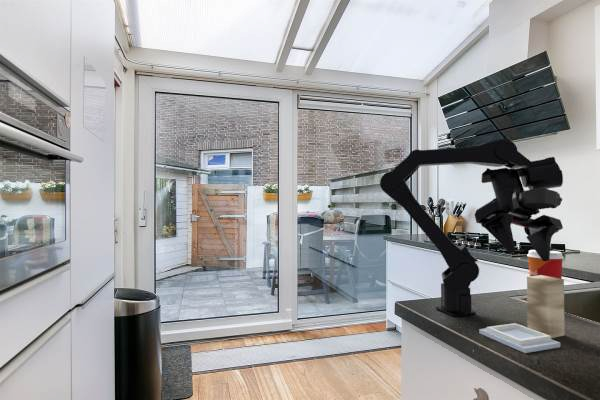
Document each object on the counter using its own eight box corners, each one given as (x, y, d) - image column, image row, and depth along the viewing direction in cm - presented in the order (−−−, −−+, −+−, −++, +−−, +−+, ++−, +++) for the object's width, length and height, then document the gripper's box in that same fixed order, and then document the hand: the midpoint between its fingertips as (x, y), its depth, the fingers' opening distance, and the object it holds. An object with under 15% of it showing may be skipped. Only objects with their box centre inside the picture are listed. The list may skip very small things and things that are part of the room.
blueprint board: (479, 333, 70) (479, 325, 70) (511, 328, 73) (511, 320, 73) (525, 353, 61) (524, 343, 61) (560, 347, 63) (560, 338, 63)
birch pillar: (527, 331, 72) (526, 276, 72) (541, 328, 73) (541, 275, 73) (549, 338, 68) (549, 281, 68) (564, 335, 69) (563, 279, 69)
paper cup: (529, 301, 93) (528, 248, 94) (565, 306, 89) (564, 251, 89) (525, 308, 87) (524, 251, 88) (563, 314, 83) (563, 254, 83)
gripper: (507, 162, 71) (530, 231, 62) (573, 184, 76) (603, 251, 68) (466, 189, 80) (482, 254, 71) (528, 207, 85) (549, 269, 77)
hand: (529, 256), depth 72 cm, fingers open, 9 cm apart
